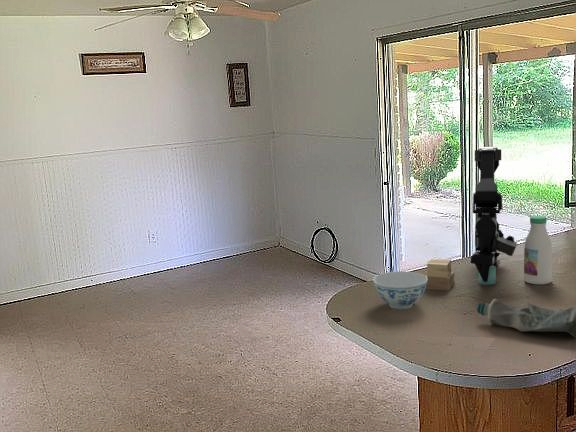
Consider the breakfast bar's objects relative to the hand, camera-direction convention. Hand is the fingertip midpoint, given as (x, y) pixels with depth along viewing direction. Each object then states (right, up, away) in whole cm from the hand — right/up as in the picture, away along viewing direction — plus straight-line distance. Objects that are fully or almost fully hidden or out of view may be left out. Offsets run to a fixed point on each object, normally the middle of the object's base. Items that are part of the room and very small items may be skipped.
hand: (486, 279), depth 186 cm
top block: (-15, +2, -1) cm, 15 cm away
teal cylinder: (0, -1, 0) cm, 1 cm away
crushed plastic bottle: (-2, -9, -37) cm, 38 cm away
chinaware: (-29, -6, -14) cm, 33 cm away
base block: (-15, -2, 0) cm, 15 cm away
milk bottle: (+15, -1, -2) cm, 15 cm away
